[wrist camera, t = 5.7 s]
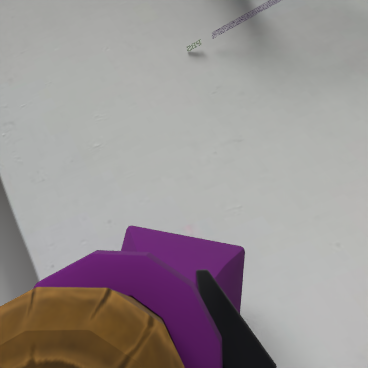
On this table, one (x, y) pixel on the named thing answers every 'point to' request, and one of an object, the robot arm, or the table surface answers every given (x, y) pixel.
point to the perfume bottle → (124, 307)
